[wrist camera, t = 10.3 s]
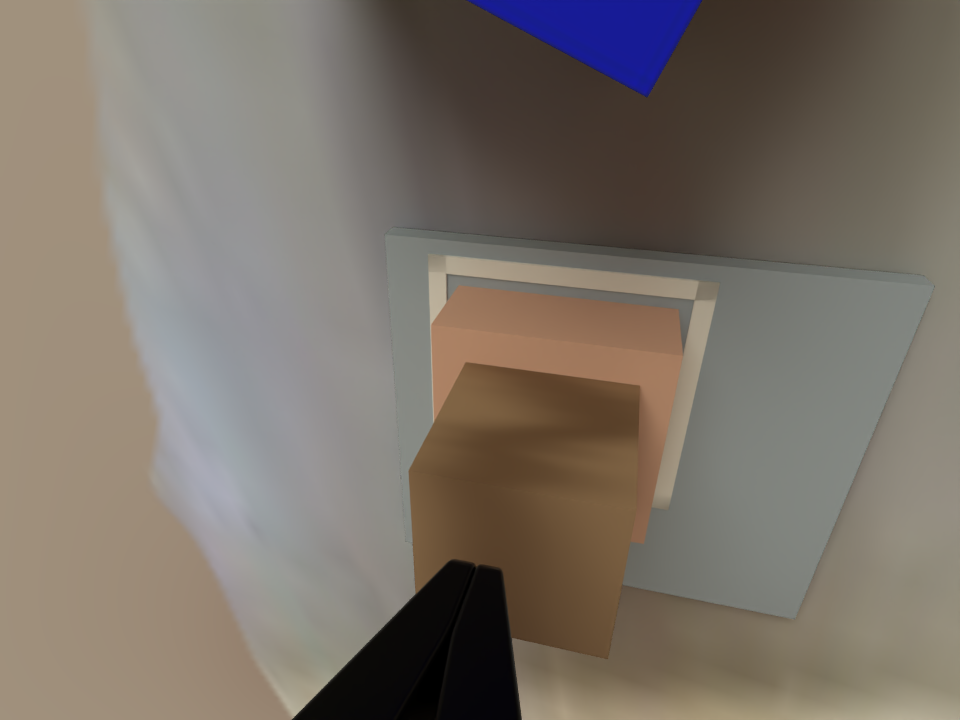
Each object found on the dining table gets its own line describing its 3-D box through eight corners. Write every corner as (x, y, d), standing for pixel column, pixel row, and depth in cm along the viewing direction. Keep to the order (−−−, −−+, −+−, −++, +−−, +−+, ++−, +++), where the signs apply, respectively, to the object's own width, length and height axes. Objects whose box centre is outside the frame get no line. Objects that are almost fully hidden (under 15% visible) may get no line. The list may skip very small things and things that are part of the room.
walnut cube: (640, 385, 17) (636, 510, 13) (617, 518, 19) (607, 659, 15) (466, 362, 18) (408, 470, 14) (465, 490, 20) (416, 616, 16)
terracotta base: (678, 309, 19) (683, 355, 16) (644, 483, 22) (643, 544, 20) (458, 285, 20) (430, 324, 17) (459, 452, 23) (436, 505, 21)
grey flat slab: (923, 275, 17) (936, 287, 16) (790, 602, 24) (795, 621, 23) (393, 227, 20) (383, 235, 20) (411, 528, 27) (404, 543, 27)
